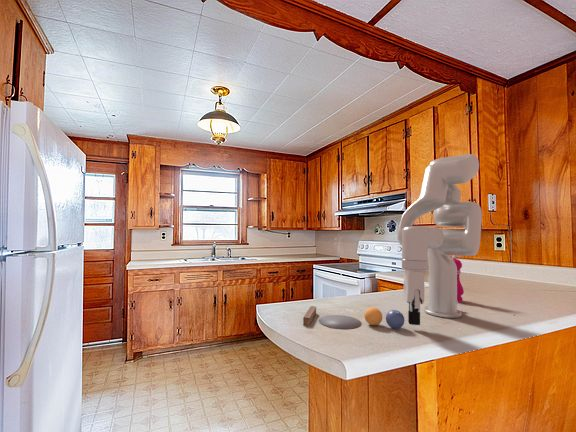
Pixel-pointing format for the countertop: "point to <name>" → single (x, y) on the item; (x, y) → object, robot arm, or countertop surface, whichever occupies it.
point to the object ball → (373, 316)
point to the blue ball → (395, 319)
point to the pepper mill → (458, 279)
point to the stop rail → (309, 316)
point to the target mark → (339, 322)
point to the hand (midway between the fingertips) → (414, 323)
